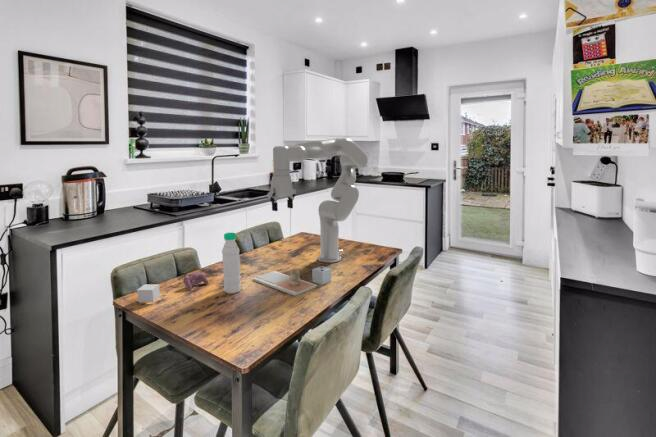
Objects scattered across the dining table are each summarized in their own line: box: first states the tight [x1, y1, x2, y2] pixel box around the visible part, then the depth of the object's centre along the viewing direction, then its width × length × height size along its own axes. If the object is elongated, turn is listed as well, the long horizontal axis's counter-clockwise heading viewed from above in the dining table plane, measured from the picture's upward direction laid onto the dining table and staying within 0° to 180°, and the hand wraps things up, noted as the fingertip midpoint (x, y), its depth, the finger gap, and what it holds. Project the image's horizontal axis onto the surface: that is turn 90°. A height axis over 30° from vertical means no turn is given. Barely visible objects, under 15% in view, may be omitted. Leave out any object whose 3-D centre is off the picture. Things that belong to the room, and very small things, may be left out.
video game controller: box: [182, 271, 209, 290], centre depth 169 cm, size 10×5×7 cm, turn 142°
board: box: [252, 270, 318, 297], centre depth 172 cm, size 13×28×1 cm, turn 48°
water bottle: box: [221, 232, 242, 294], centre depth 162 cm, size 7×7×25 cm
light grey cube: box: [136, 283, 161, 302], centre depth 153 cm, size 6×6×6 cm
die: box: [311, 265, 332, 286], centre depth 174 cm, size 6×6×6 cm
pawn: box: [289, 268, 301, 286], centre depth 167 cm, size 4×4×7 cm
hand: (282, 209), depth 184 cm, fingers open, 9 cm apart
